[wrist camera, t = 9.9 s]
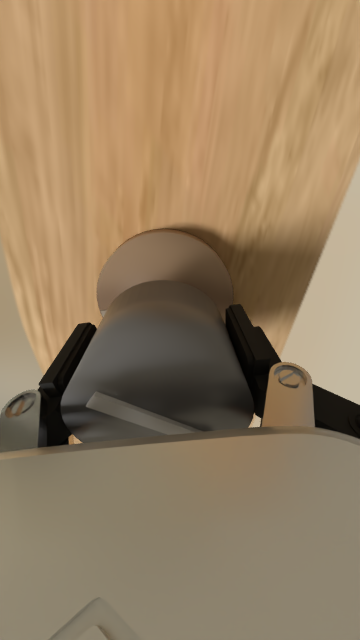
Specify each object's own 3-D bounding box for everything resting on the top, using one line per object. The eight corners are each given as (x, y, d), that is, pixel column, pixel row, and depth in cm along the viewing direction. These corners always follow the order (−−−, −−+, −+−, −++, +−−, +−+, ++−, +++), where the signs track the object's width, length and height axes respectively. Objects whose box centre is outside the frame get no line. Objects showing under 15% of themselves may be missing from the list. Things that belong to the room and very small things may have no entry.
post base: (228, 335, 18) (245, 380, 14) (124, 349, 19) (110, 396, 15) (228, 217, 13) (254, 233, 9) (82, 240, 13) (41, 266, 9)
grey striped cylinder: (249, 324, 11) (296, 410, 7) (168, 398, 15) (166, 486, 10) (143, 251, 9) (116, 313, 5) (75, 359, 12) (24, 452, 8)
